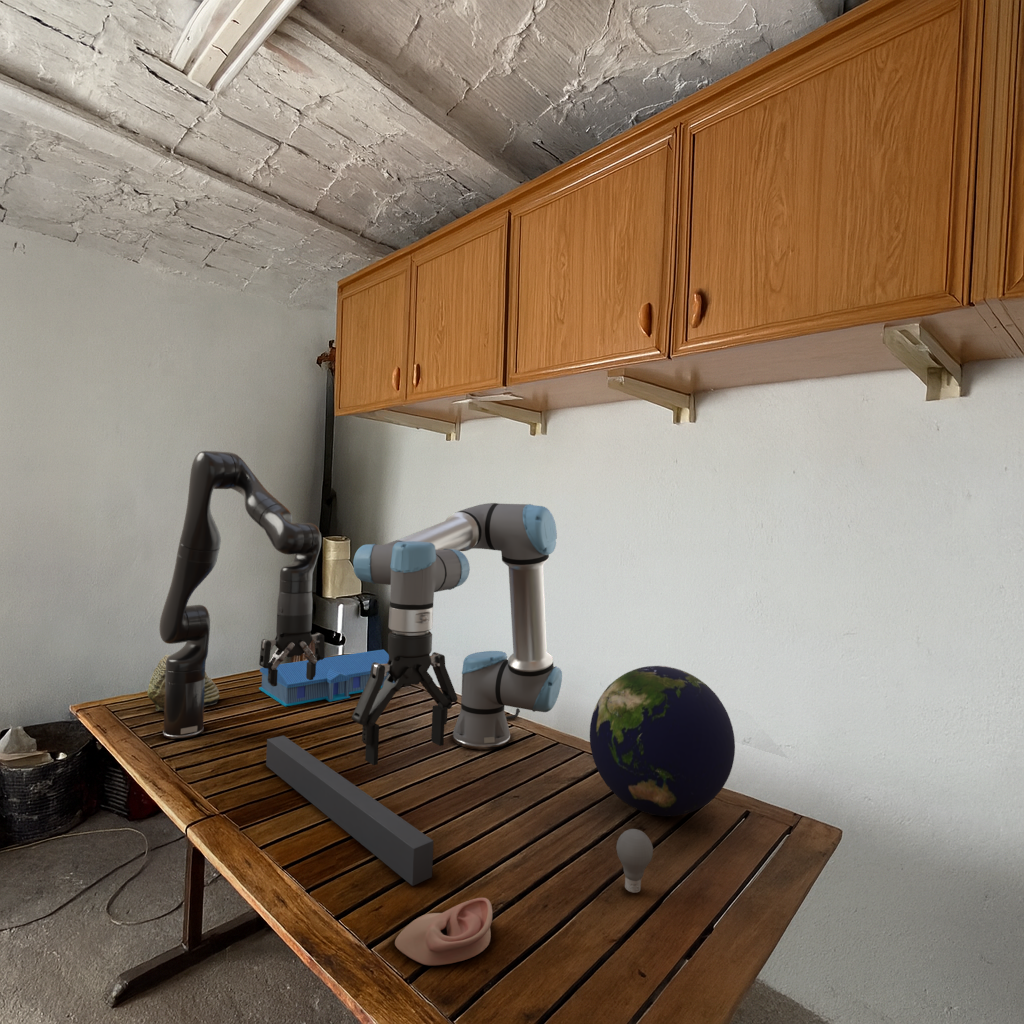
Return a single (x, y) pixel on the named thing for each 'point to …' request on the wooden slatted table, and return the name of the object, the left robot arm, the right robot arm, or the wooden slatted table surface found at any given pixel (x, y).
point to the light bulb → (634, 857)
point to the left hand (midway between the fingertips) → (291, 682)
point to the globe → (662, 740)
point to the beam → (353, 810)
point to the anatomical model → (448, 934)
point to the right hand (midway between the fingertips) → (405, 752)
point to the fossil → (158, 687)
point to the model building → (323, 678)
